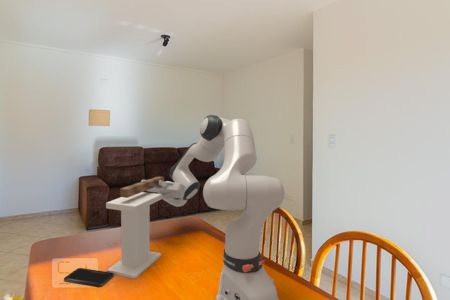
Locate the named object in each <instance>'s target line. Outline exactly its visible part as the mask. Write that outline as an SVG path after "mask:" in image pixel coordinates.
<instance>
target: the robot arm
mask: <svg viewBox="0 0 450 300" xmlns="http://www.w3.org/2000/svg"><path fill="white" fill-rule="evenodd" d="M199 134H200V139H199V140H198V142H194V143H191V144H190V145H189V146H188V148H186V150H185V151H184V152H183V154H182V155H181V157H180V158H179V159H178V161H177V162H175V164H174V165H173V166H172V167H171V168H170V170H169V175H168V176H169V178H170V179H171V180H172V181H169V180H166V181H165V180H164V181H162V180H158V182H157V184H158V185H159V186H156V187H154V188H151V189H149V190H146V191H147V192H148V193H156V194H162V199H161V200H163V201H165V202H167V203H168V204H170V205H172V206H174V207H176V208H177V207H178V208H179V207H183V206H185V204H186V203H187V202H188V200H190V199H191V200H192V198H194V197H195V196H196V195H197V194H198V193H199V191H200V187H201V186H200V182H199V181H198V179H197V178H196V177H195V176H194V174H193V173H192V172H191V171H190V168H189V165H190V163H192V161H193V160H194V159H197V160H199V161H201V162H206V163H210V162H213V161H216V159H218V157H219V156H220V155H221V152H222V150H223V149H224V150H223V151H224V153H223V154H224V155H223V156H224V157H223V164H222V166H221V167H220V169H219V170H218V171H217V172H216V173H214V174H213V175H212V176H210V177H209V178H208V179H207V180H206V181H205V184H204V185H203V190H202V196H203V197H202V198H203V199H204V203H206V205H207V206H208V207H209V208H212V209H216V210H220V211H243V213H242V214H241V215H240V216H238V217H237V218H235V219H233V220H231V221H230V222H229V223H228V225H227V226H226V227H225V235H224V236H225V238H224V249H223V253H222V259H223V261H222V263H223V267H222V269H221V271H220V272H221V273H220V276H219V283H218V284H219V285H218V293H217V294H216V296H215V299H214V300H280V299H279V297H278V290H277V287H276V285H275V280H274V279H273V278H272V277H270V276H269V275H268V272H267V271H266V269H265V268H264V264H266V263H265V259H262V254H261V252H260V243H261V241H260V240H261V233H262V229H263V227H264V223H265V222H266V221H267V219H268V217H269V216H270V215H271V214H272V213H273V212H274V211H275V210H276V209H278V208H279V207H281V205H282V204H283V202H284V200H285V195H286V194H285V193H286V192H285V191H286V190H285V188H284V185H283V183H282V182H281V181H280V179H279V178H277V177H272V176H269V175H262V174H261V175H256V174H255V175H253V174H252V175H245V173H247V172H249V171H251V170H252V169H253V168H254V167H255V166H256V163H257V160H258V159H257V152H256V144H255V140H254V139H255V138H254V134H253V131H252V128H251V126H250V123H248V121H247V120H245V119H243V118H233V119H228V118H225V117H222V116H220V117H219V116H218V115H215V114H214V115H213V114H208V115H207V116H205V117H204V119H203V120H202V122H201V124H200V130H199ZM145 180H146V179H141V181H140V182H142V181H145ZM146 191H145V192H146Z"/></svg>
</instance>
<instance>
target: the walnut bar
mask: <svg viewBox="0 0 450 300" xmlns="http://www.w3.org/2000/svg"><path fill="white" fill-rule="evenodd" d="M144 180H145V181H142V182H141V181H140V182H136V183H134V184H131V185H128V186H124V187H121V188H119V198H120V197H124V198H128V197H131V196H133V195H136V194H138V193H141V192H146V190H149V189H151V188H154V187H156V186H159V185H158V184H157V182H158V180H162V181H164V182H165V176H160V175H159V176H155V177H152V178H149V179H144Z"/></svg>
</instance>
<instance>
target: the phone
mask: <svg viewBox="0 0 450 300" xmlns="http://www.w3.org/2000/svg"><path fill="white" fill-rule="evenodd" d="M114 276H115V274H114V273H110V272H107V271H102V270H96V269H90V268H83V267H78V268H76V269H75V270H73V271H72V272H70V273H69V274H67V275H65V277H64V278H63V282H64V283H71V284H77V285H83V286H88V287H89V286H90V287H95V288H102V287H104V286H105V285H106V284H107V283H108V282H110V281H111V279H113V278H114Z"/></svg>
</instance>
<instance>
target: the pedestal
mask: <svg viewBox="0 0 450 300" xmlns="http://www.w3.org/2000/svg"><path fill="white" fill-rule="evenodd" d="M161 200H163V199H162V194H158V193H156V192H146V191H144V192H141V193H138V194H136V195H133V196H131V197H128V198H124V197H120V196H119V197H118V198H115V199H112V200H110V201H107V202H106V203H105V209H108V210H109V209H110V210H114V211H115V210H116V211H120V219H121V221H120V224H121V225H120V227H121V228H120V229H121V231H120V232H121V235H120V236H121V241H120V243H121V245H120V247H121V251H120V253H121V258H120V259H121V260H120V259H119V261H117V262H116V263H114V264H113V265H112V266H110V267H109V268H108V269H106V272H110V273H114V275H116V276H121V277H126V278H129V279H133V280H134V279H137V278H138V277H139V276H140V275H142V273H144V272H145V271H146V270H148V268H149V267H151V266H152V264H154V263H155V262H156V261H157V260H158V259H159V258H160V257H162V253H160V252H155V251H150V241H151V240H150V235H151V234H150V218H151V217H150V213H151V211H150V210H151V209H150V208H151V207H150V205H153V204H154V203H157V202H158V201H161Z"/></svg>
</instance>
